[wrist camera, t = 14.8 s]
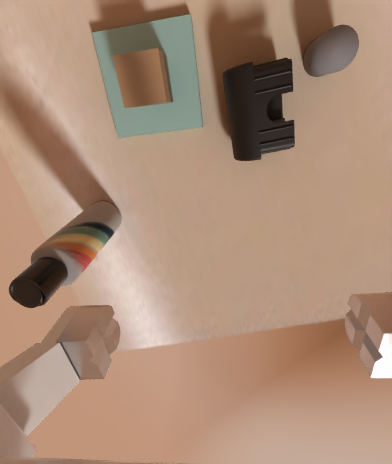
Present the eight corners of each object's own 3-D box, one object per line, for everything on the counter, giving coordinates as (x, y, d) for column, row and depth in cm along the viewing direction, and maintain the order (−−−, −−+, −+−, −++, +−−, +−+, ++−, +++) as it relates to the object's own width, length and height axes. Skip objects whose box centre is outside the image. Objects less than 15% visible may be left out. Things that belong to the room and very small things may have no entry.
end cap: (221, 75, 32) (222, 68, 26) (278, 61, 31) (293, 50, 25) (232, 154, 36) (235, 164, 30) (283, 144, 35) (296, 152, 29)
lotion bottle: (97, 233, 44) (17, 321, 26) (83, 204, 42) (-17, 278, 24) (127, 227, 43) (63, 313, 25) (114, 196, 41) (34, 268, 23)
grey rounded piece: (339, 34, 29) (361, 21, 25) (335, 74, 31) (355, 68, 26) (304, 40, 30) (319, 28, 25) (301, 79, 31) (315, 74, 27)
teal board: (191, 17, 29) (190, 14, 28) (203, 126, 35) (202, 127, 34) (96, 35, 31) (91, 32, 30) (121, 137, 36) (118, 138, 35)
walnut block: (166, 56, 30) (157, 48, 26) (173, 102, 33) (166, 101, 28) (127, 62, 31) (112, 55, 27) (136, 107, 33) (124, 107, 29)
